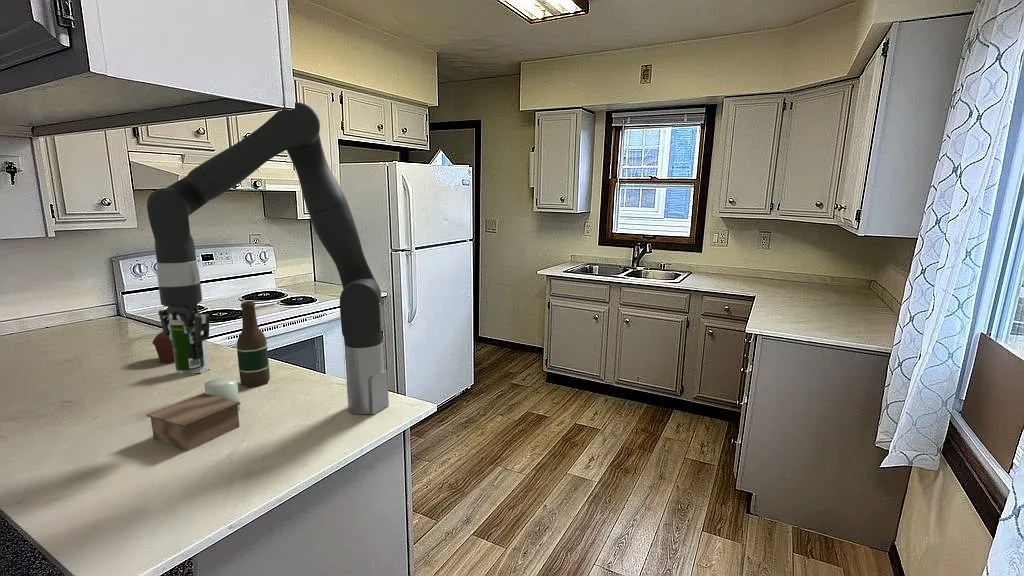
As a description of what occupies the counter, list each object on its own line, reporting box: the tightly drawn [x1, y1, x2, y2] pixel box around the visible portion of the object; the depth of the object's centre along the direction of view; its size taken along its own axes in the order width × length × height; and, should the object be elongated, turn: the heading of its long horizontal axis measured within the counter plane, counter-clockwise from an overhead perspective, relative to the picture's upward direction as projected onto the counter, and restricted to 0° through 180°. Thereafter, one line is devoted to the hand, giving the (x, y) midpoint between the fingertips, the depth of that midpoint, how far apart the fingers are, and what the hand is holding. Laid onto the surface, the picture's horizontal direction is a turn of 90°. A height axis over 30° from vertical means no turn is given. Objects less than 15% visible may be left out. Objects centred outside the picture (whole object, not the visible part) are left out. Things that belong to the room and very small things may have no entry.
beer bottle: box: [236, 300, 271, 388], centre depth 140 cm, size 8×8×24 cm
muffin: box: [151, 331, 175, 364], centre depth 162 cm, size 12×11×10 cm
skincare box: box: [191, 332, 211, 374], centre depth 150 cm, size 6×4×12 cm
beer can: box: [170, 318, 204, 374], centre depth 108 cm, size 5×5×12 cm
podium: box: [146, 392, 241, 451], centre depth 111 cm, size 13×13×6 cm
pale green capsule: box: [203, 376, 241, 413], centre depth 122 cm, size 7×7×8 cm
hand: (188, 356), depth 108 cm, fingers closed on beer can, 5 cm apart
